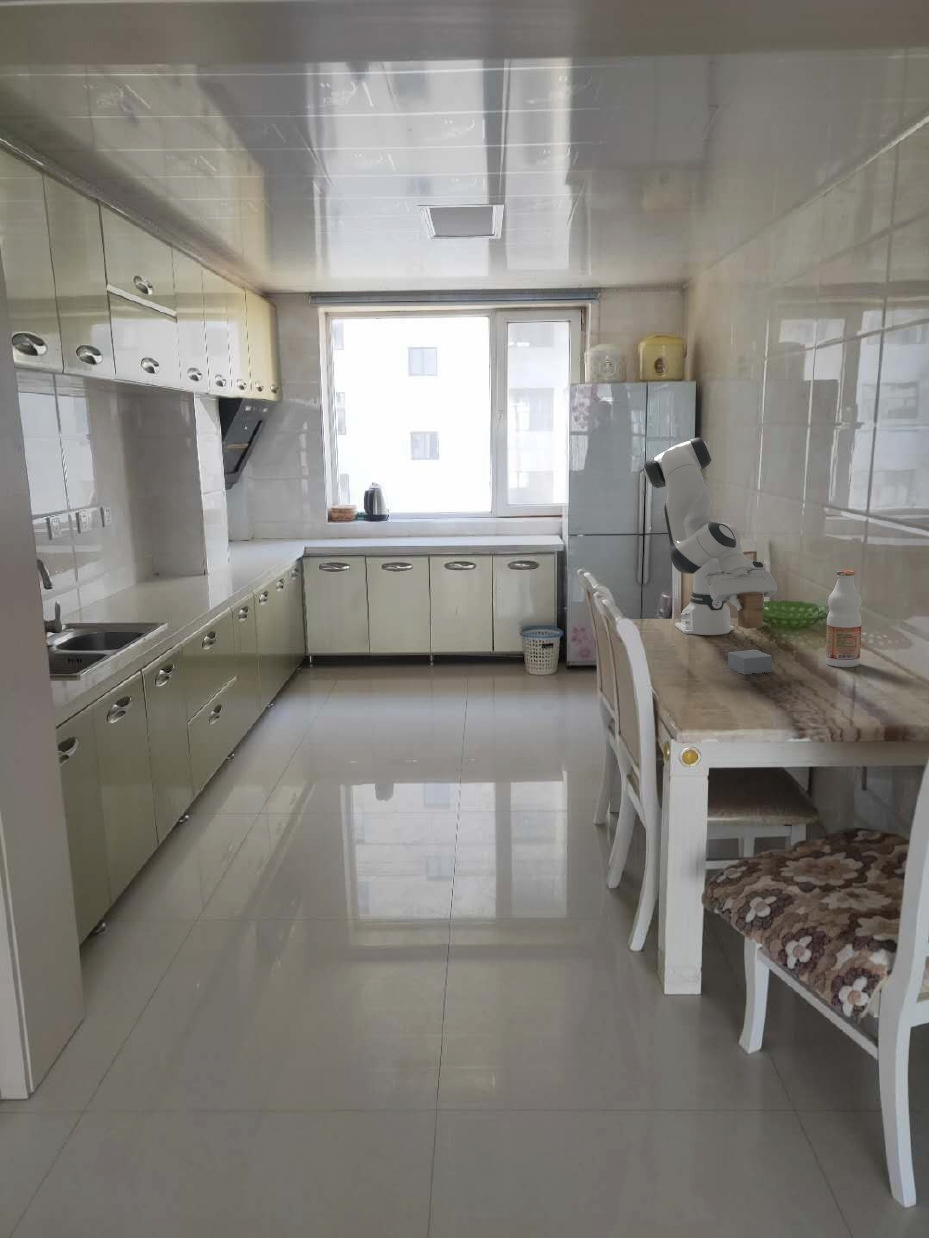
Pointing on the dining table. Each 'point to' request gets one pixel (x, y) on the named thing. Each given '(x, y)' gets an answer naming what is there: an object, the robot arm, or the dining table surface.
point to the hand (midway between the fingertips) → (751, 608)
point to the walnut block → (751, 610)
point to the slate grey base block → (749, 661)
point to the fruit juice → (844, 622)
